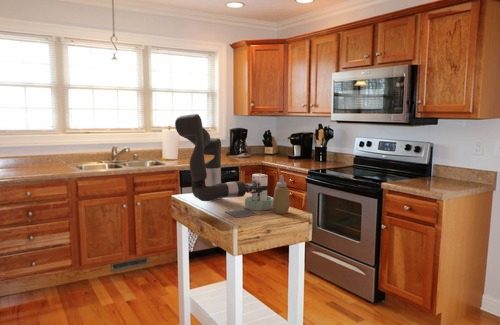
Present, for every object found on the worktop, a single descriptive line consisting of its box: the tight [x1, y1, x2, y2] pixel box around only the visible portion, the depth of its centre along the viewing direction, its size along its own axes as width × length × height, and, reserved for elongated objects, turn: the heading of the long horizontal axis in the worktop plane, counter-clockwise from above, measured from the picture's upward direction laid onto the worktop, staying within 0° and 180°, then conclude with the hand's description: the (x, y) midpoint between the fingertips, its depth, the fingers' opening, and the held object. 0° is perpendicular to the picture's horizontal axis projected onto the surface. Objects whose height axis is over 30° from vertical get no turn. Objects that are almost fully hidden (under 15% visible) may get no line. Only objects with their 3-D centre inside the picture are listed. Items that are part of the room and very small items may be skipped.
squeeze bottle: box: [273, 174, 291, 215], centre depth 185 cm, size 8×8×18 cm
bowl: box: [244, 195, 274, 211], centre depth 198 cm, size 14×14×4 cm
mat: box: [224, 208, 260, 219], centre depth 185 cm, size 12×12×1 cm
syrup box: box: [251, 173, 269, 201], centre depth 197 cm, size 6×6×14 cm
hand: (263, 186), depth 198 cm, fingers closed on syrup box, 6 cm apart
